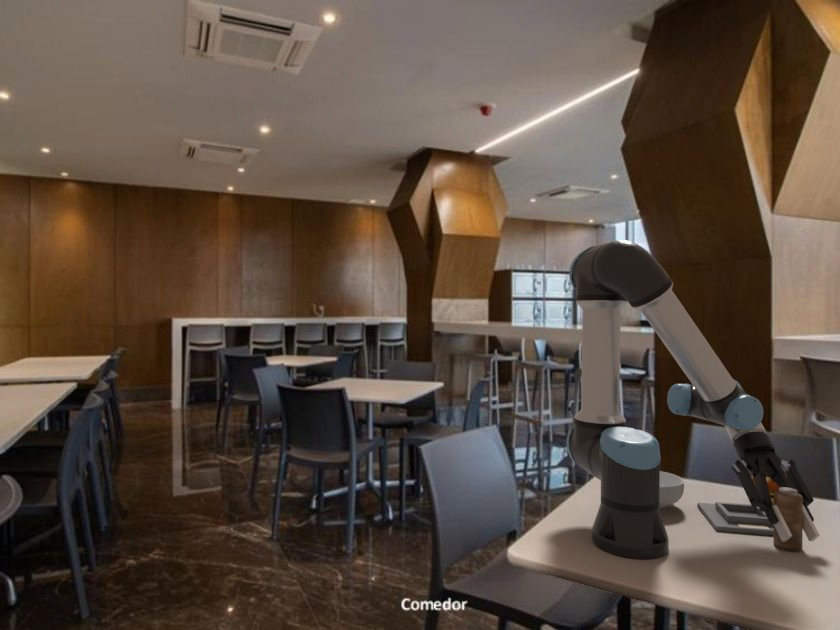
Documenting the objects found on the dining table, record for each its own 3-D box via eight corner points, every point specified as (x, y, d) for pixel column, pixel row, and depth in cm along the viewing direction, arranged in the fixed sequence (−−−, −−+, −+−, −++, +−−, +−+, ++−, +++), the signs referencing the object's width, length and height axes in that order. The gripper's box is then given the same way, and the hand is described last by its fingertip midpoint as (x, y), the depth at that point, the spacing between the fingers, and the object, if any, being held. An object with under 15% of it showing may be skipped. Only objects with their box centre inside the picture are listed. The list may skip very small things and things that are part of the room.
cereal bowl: (672, 495, 148) (672, 469, 148) (693, 518, 131) (694, 488, 131) (606, 492, 150) (606, 466, 150) (619, 514, 134) (619, 485, 134)
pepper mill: (779, 550, 113) (779, 492, 113) (769, 541, 118) (769, 485, 118) (806, 553, 112) (807, 494, 112) (795, 543, 117) (796, 486, 117)
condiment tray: (716, 530, 124) (716, 519, 124) (697, 506, 139) (697, 496, 139) (796, 537, 120) (796, 525, 120) (768, 511, 136) (768, 501, 136)
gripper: (779, 447, 131) (834, 545, 114) (705, 447, 130) (748, 546, 114) (795, 429, 125) (855, 530, 109) (718, 429, 125) (766, 531, 108)
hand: (800, 538), depth 111 cm, fingers closed on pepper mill, 5 cm apart
